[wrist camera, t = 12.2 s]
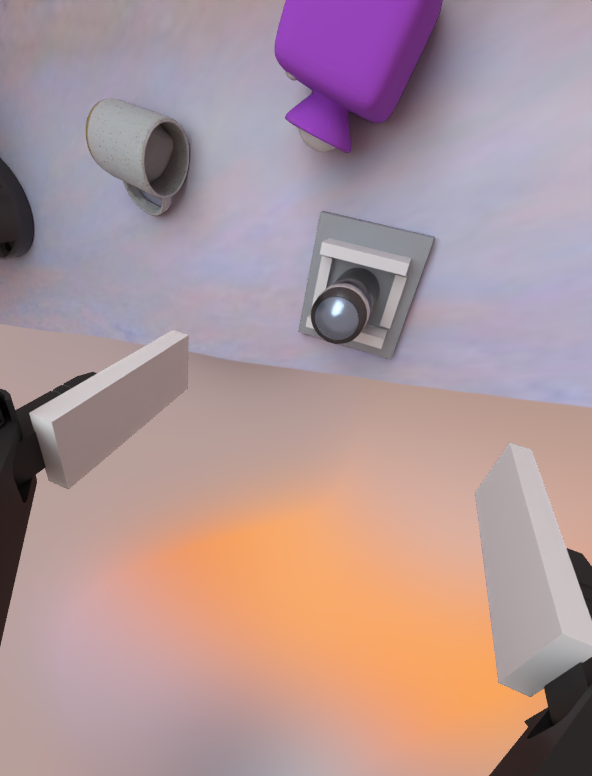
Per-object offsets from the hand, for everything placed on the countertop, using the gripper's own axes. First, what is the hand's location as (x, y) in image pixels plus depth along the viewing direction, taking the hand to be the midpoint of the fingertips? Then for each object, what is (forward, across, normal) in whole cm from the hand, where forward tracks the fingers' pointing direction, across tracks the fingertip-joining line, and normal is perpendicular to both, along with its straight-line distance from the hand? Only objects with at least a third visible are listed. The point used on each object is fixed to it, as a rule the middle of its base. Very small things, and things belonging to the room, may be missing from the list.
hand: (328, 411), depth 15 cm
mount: (+30, -3, -4) cm, 31 cm away
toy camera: (+31, -8, +15) cm, 35 cm away
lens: (+29, -3, -4) cm, 29 cm away
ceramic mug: (+31, -30, +4) cm, 43 cm away
